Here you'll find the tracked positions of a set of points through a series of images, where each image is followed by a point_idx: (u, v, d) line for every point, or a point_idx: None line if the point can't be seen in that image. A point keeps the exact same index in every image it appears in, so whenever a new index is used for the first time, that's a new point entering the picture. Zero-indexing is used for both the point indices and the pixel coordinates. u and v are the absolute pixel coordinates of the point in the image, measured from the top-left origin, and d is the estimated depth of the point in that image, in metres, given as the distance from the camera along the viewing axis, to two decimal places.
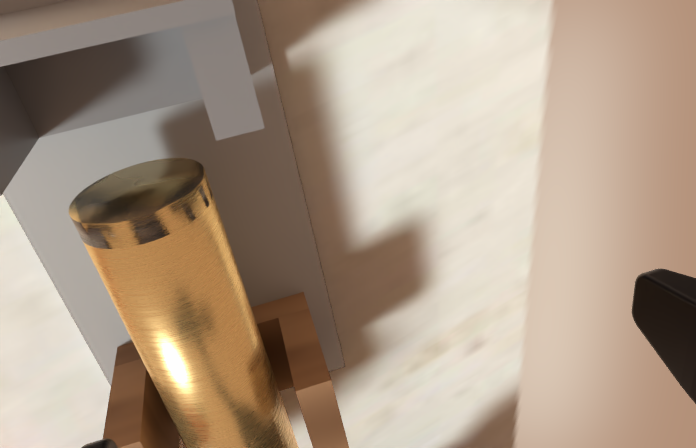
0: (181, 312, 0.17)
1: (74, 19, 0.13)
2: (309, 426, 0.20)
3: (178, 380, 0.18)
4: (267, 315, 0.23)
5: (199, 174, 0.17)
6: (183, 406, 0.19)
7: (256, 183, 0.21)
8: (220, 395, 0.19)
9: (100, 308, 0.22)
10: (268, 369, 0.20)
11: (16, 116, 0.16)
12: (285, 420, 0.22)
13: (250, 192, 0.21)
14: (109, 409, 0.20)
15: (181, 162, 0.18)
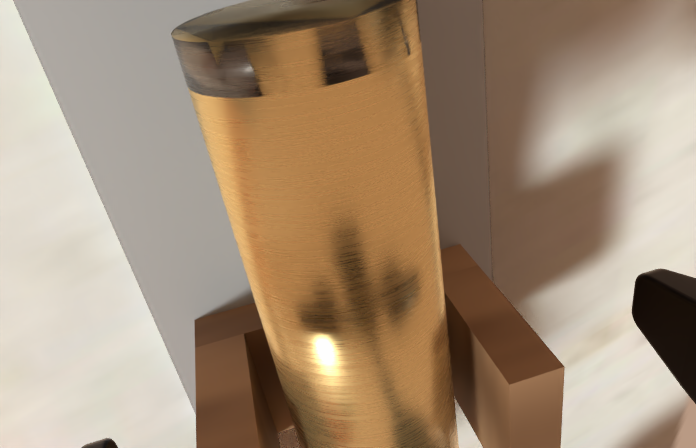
0: (369, 233, 0.09)
1: None
2: (515, 441, 0.13)
3: (338, 361, 0.10)
4: None
5: None
6: (335, 407, 0.11)
7: None
8: (400, 389, 0.11)
9: (175, 258, 0.15)
10: (449, 350, 0.13)
11: None
12: None
13: None
14: (199, 412, 0.13)
15: None
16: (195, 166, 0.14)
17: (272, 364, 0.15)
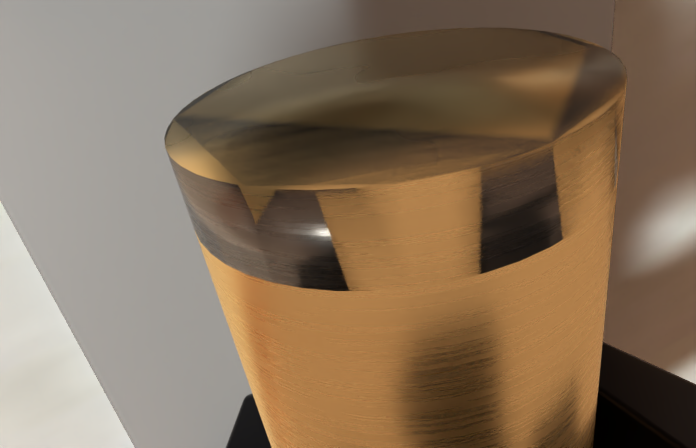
0: None
1: None
2: None
3: None
4: None
5: (575, 45, 0.05)
6: None
7: None
8: None
9: (174, 391, 0.11)
10: None
11: None
12: None
13: None
14: None
15: (463, 34, 0.06)
16: (203, 275, 0.10)
17: None
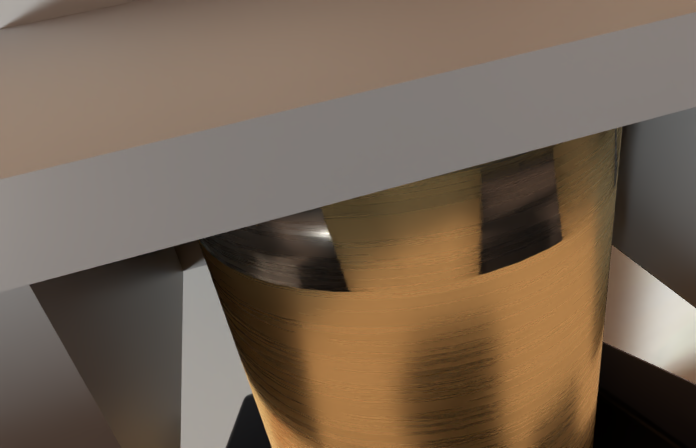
0: None
1: (523, 7, 0.03)
2: None
3: None
4: None
5: None
6: None
7: None
8: None
9: None
10: None
11: None
12: None
13: None
14: None
15: None
16: None
17: None
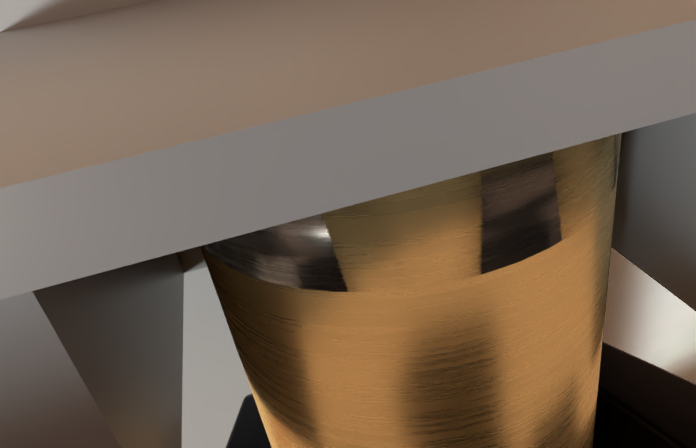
0: None
1: (523, 13, 0.03)
2: None
3: None
4: None
5: None
6: None
7: None
8: None
9: None
10: None
11: None
12: None
13: None
14: None
15: None
16: None
17: None
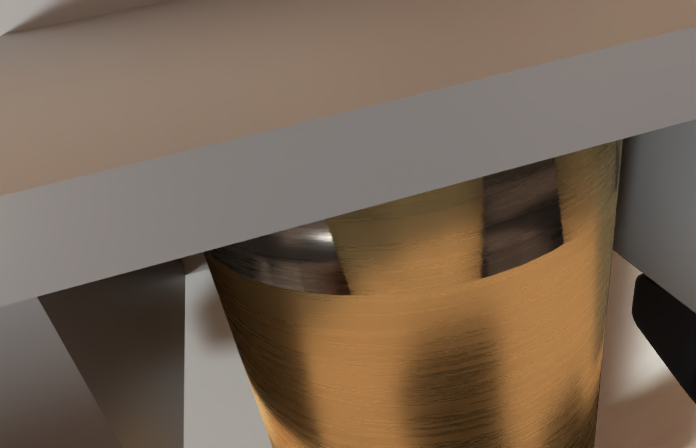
0: None
1: (525, 19, 0.03)
2: None
3: None
4: None
5: None
6: None
7: None
8: None
9: None
10: None
11: None
12: None
13: None
14: None
15: None
16: (263, 439, 0.12)
17: None
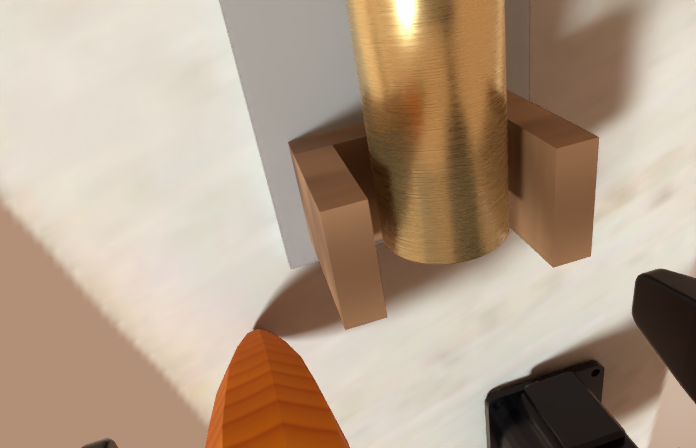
0: None
1: None
2: (558, 208, 0.16)
3: None
4: None
5: None
6: None
7: None
8: None
9: (277, 82, 0.18)
10: None
11: None
12: None
13: None
14: (308, 182, 0.16)
15: None
16: None
17: None
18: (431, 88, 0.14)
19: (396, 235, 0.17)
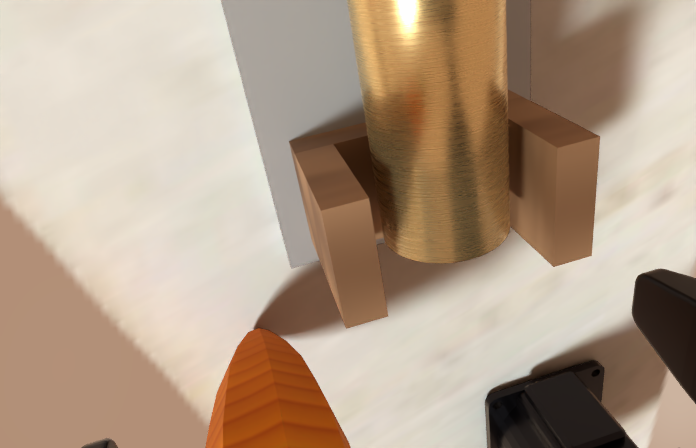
0: None
1: None
2: (559, 207, 0.16)
3: None
4: None
5: None
6: None
7: None
8: None
9: (278, 81, 0.18)
10: None
11: None
12: None
13: None
14: (309, 180, 0.16)
15: None
16: None
17: None
18: (432, 87, 0.14)
19: (397, 234, 0.17)
